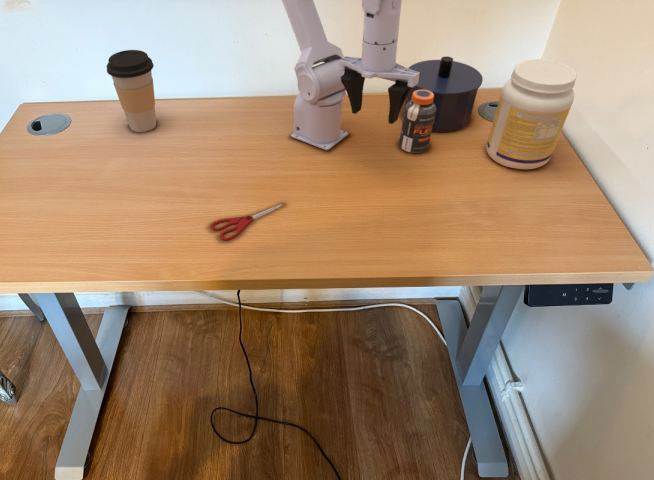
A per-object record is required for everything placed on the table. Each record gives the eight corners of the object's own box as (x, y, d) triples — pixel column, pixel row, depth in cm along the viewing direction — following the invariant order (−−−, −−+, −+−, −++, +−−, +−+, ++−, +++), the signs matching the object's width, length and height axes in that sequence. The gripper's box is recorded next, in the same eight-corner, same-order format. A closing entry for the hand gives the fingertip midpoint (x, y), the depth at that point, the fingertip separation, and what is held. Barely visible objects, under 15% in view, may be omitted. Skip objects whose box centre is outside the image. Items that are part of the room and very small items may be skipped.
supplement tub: (563, 164, 103) (599, 79, 91) (510, 177, 101) (540, 92, 89) (522, 133, 111) (550, 52, 99) (472, 145, 109) (494, 63, 97)
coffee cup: (143, 111, 123) (128, 44, 112) (173, 122, 119) (161, 54, 108) (112, 128, 117) (94, 61, 107) (142, 141, 113) (127, 72, 103)
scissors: (208, 227, 94) (208, 223, 93) (274, 199, 99) (273, 195, 98) (224, 244, 91) (224, 240, 90) (291, 214, 96) (291, 210, 95)
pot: (394, 125, 115) (400, 87, 109) (410, 95, 124) (416, 58, 118) (463, 138, 111) (473, 99, 105) (474, 105, 120) (484, 68, 114)
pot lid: (396, 91, 109) (400, 68, 106) (414, 60, 119) (417, 39, 116) (475, 103, 105) (481, 81, 101) (486, 70, 114) (492, 49, 111)
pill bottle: (410, 157, 107) (420, 103, 98) (392, 143, 110) (400, 90, 102) (434, 148, 108) (446, 96, 100) (416, 135, 112) (425, 83, 104)
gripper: (330, 39, 89) (329, 115, 99) (408, 54, 82) (399, 135, 92) (352, 26, 93) (349, 101, 103) (429, 40, 86) (418, 119, 96)
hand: (374, 116), depth 97 cm, fingers open, 7 cm apart
